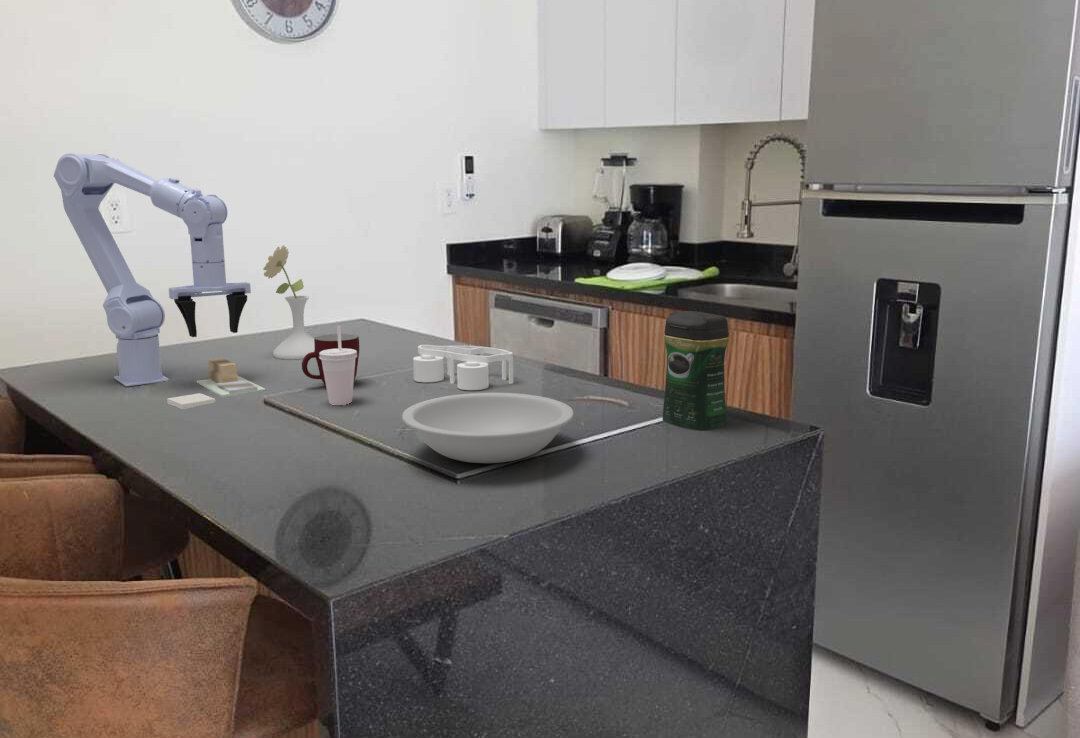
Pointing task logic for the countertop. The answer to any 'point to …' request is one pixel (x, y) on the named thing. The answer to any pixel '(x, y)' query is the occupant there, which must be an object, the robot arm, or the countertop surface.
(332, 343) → the mug
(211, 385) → the mat
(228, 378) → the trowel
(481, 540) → the countertop surface
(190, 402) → the tile
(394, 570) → the countertop surface
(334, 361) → the smoothie
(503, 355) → the white rack with cylinders
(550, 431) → the soup bowl
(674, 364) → the coffee jar
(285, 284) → the flower in vase
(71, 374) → the countertop surface
